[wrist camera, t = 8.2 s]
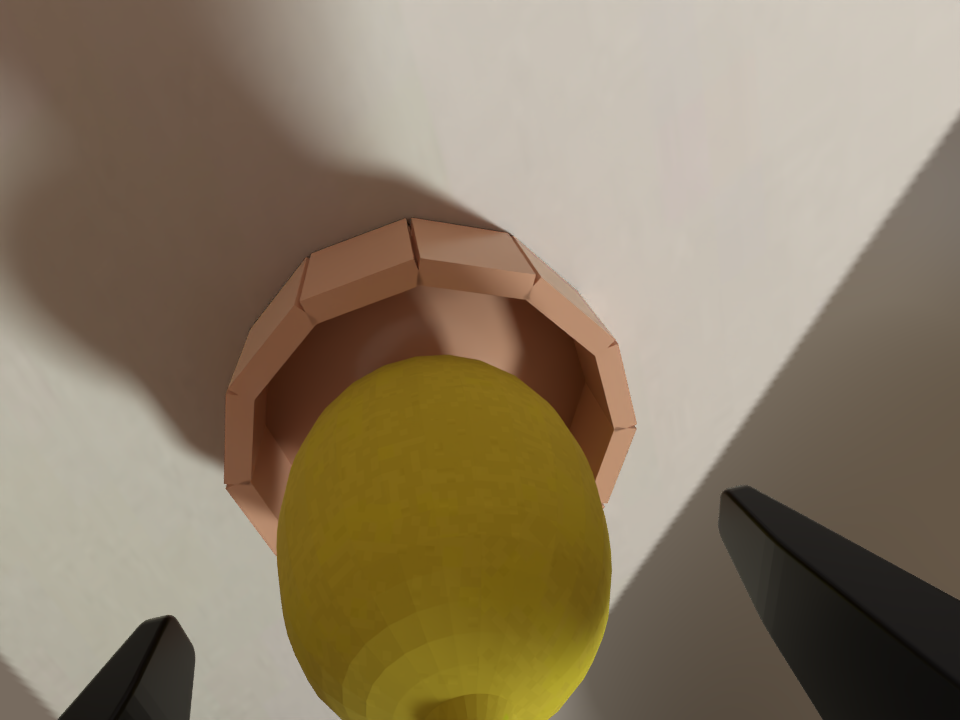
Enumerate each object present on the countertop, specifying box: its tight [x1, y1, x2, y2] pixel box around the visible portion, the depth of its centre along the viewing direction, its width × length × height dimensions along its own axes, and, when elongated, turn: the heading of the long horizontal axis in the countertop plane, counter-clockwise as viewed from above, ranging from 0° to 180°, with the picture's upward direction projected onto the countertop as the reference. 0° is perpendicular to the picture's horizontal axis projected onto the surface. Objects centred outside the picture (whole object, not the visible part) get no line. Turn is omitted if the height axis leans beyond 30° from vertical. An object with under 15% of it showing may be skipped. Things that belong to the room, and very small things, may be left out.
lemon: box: [276, 355, 612, 720], centre depth 11 cm, size 6×6×8 cm
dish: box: [224, 218, 637, 556], centre depth 14 cm, size 8×8×2 cm
